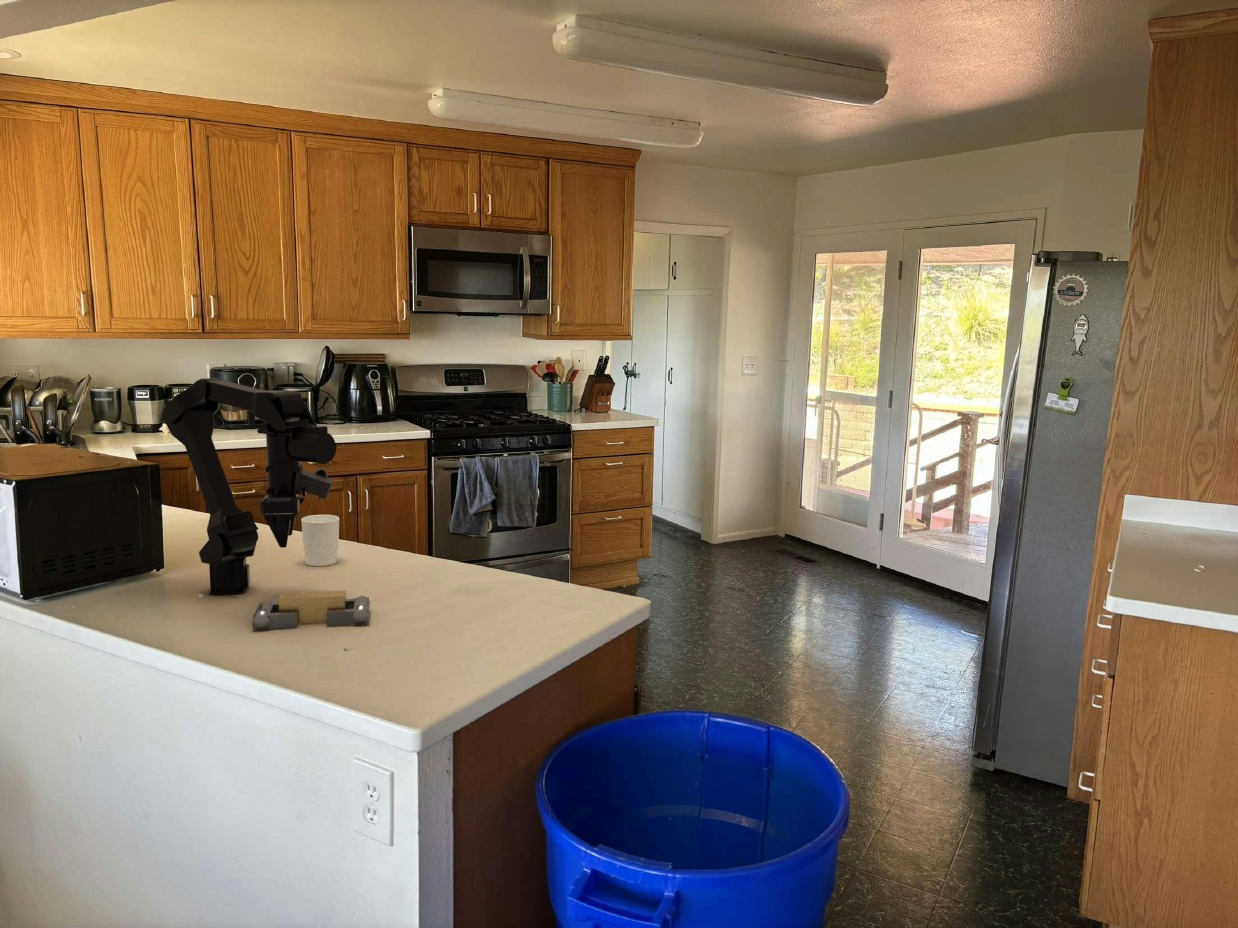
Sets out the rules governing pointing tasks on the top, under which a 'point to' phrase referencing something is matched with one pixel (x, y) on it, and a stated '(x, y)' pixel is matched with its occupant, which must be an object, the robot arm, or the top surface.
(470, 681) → the top surface
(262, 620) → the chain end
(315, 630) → the top surface
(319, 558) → the white cup
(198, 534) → the top surface
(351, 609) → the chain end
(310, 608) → the gold ingot
